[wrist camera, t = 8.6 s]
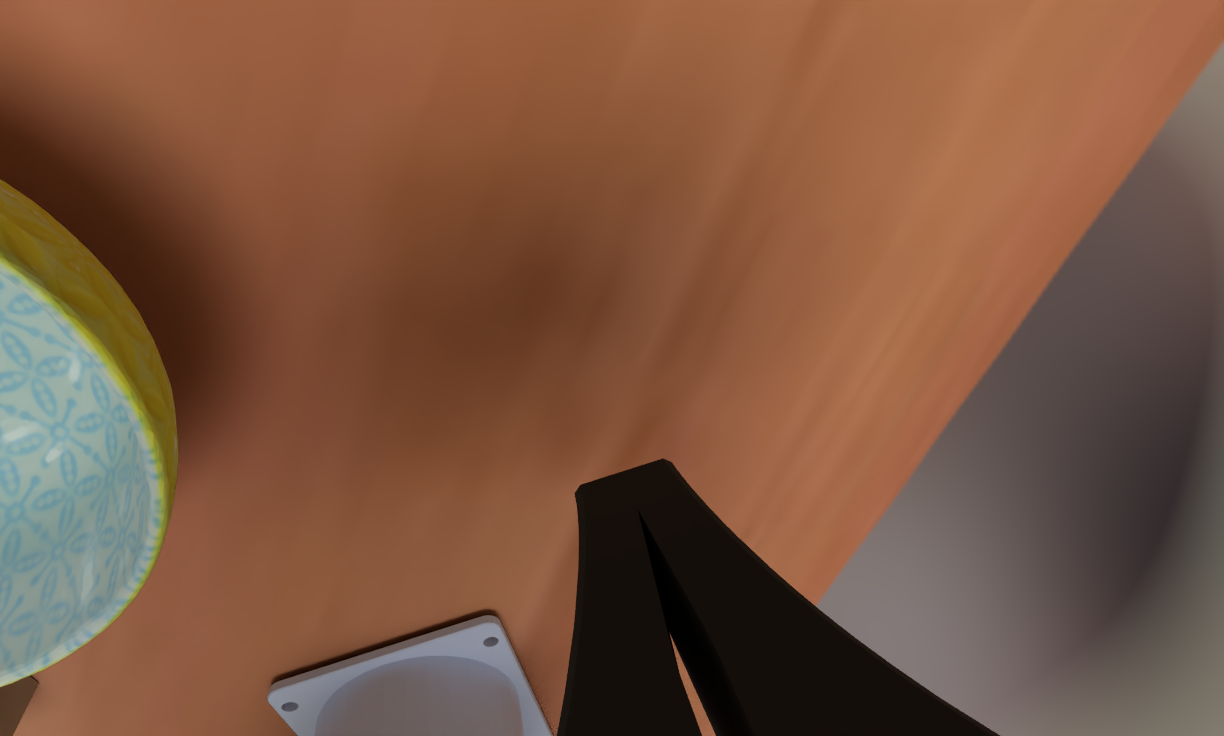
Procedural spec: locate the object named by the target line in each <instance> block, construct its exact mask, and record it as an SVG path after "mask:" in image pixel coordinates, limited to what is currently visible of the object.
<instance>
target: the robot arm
mask: <svg viewBox="0 0 1224 736" xmlns="http://www.w3.org/2000/svg"><path fill="white" fill-rule="evenodd" d="M575 498H576V503H577V511H578V524H579V568H578V583H577V596H576V610H575V621H574V631H573V638H572V645H571V652H570V659H569V667H568V674H567V681H566V688H565V694H564V700H563V706H562V711H561V717H560V722H559V727H558V732H557V736H702V734H701V732H700V729H699V726H698V723H697V721H696V718H695V715H694V712H693V710H692V707H691V704H690V701H689V699H688V696H687V693H686V690H685V688H684V685H683V682H682V679H681V677H680V673H679V669H678V665H677V661H676V657H675V653H674V649H673V645H672V641H671V637H672V639H673V641H674V643H675V646H676V648H677V650H678V652H679V654H680V657H681V659H682V661H683V663H684V666H685V668H686V670H687V672H688V674H689V677H690V679H691V681H692V683H693V686H694V688H695V690H696V692H697V694H698V697H699V699H700V701H701V703H702V705H703V708H704V710H705V712H706V714H707V716H708V719H709V721H710V723H711V725H712V727H713V730H714V732H715V734H716V736H1000V735H998V734H997V733H995V732H993V731H992V730H990V729H989V728H987V727H985V726H984V725H982V724H980V723H979V722H977V721H976V720H974V719H973V718H971V717H969V716H968V715H966V714H965V713H963V712H961V711H960V710H958V709H957V708H955V707H953V706H952V705H950V704H949V703H947V702H946V701H944V700H942V699H941V698H939V697H938V696H936V695H935V694H933V693H932V692H930V691H929V690H928V689H926V688H925V687H923V686H921V685H920V684H919V683H917V682H916V681H914V680H913V679H912V678H910V677H909V676H907V675H906V674H904V673H903V672H902V671H900V670H899V669H897V668H896V667H894V666H893V665H891V664H890V663H889V662H887V661H886V660H885V659H883V658H882V657H881V656H879V655H877V654H876V653H875V652H874V651H872V650H871V649H870V648H868V647H867V646H866V645H864V644H863V643H861V642H860V641H859V640H857V639H856V638H855V637H853V636H852V635H851V634H850V633H848V632H847V631H846V630H844V629H843V628H842V627H840V626H839V625H838V624H837V623H835V622H834V621H833V620H832V619H830V618H829V617H828V616H827V615H825V614H824V613H823V612H822V611H820V610H819V609H818V608H817V607H816V606H814V605H813V604H812V603H811V602H810V601H808V600H807V599H806V598H805V597H804V596H803V595H801V594H800V593H799V592H798V591H797V590H795V589H794V588H793V587H792V586H791V585H789V584H788V583H787V582H786V581H785V580H784V579H783V578H782V577H780V576H779V575H778V574H777V573H776V572H775V571H774V570H773V569H771V568H770V567H769V566H768V565H767V564H766V563H765V562H764V561H763V560H762V559H761V558H760V557H759V556H757V555H756V554H755V553H754V552H753V551H752V550H751V549H750V548H749V547H748V546H747V545H746V544H745V543H744V542H743V541H742V540H741V539H739V538H738V537H737V536H736V535H735V534H734V533H733V532H732V531H731V530H730V529H729V528H728V527H727V526H726V525H725V524H724V523H723V522H722V521H721V520H720V519H719V517H718V516H717V515H716V514H715V513H714V512H713V511H712V510H711V509H710V508H709V507H708V506H707V505H706V504H705V503H704V501H703V500H702V499H701V498H700V497H699V496H698V495H697V494H696V492H695V491H694V490H693V489H692V488H691V487H690V485H689V484H688V483H687V482H686V481H685V479H684V478H683V477H682V476H681V474H680V473H679V472H678V470H677V469H676V468H675V466H674V465H673V463H672V462H670V461H667V460H665V459H660V460H657V461H654V462H651V463H648V464H645V465H641V466H638V467H635V468H632V469H629V470H626V471H623V472H619V473H616V474H613V475H610V476H607V477H604V478H601V479H598V480H594V481H591V482H588V483H585V484H582V485H580V486H579V488H578V489H577V491H576V492H575ZM669 632H670V633H669ZM670 634H671V637H670ZM267 700H268V702H269V704H270V705H271V706H272V707H273V708H274V709H275V710H276V712H277V713H278V714H279V715H280V716H281V717H282V718H283V720H284V721H285V722H286V723H287V724H288V725H289V726H290V728H291V729H292V730H293V731H294V732H295V733H296V734H297V736H553V734H552V732H551V730H550V728H549V726H548V724H547V721H546V719H545V717H544V715H543V713H542V711H541V708H540V706H539V704H538V702H537V700H536V698H535V695H534V693H533V691H532V689H531V687H530V685H529V682H528V680H527V678H526V676H525V674H524V672H523V669H522V667H521V665H520V663H519V661H518V659H517V656H516V654H515V652H514V650H513V648H512V646H511V644H510V641H509V639H508V637H507V635H506V633H505V631H504V628H503V626H502V624H501V622H500V620H499V619H498V618H497V617H495V616H492V615H485V616H481V617H478V618H474V619H471V620H468V621H465V622H462V623H459V624H456V625H453V626H449V627H446V628H443V629H440V630H437V631H434V632H431V633H428V634H424V635H421V636H418V637H415V638H412V639H409V640H406V641H403V642H399V643H396V644H393V645H390V646H387V647H384V648H381V649H378V650H374V651H371V652H368V653H365V654H362V655H359V656H356V657H353V658H349V659H346V660H343V661H340V662H337V663H334V664H331V665H328V666H324V667H321V668H318V669H315V670H312V671H309V672H306V673H303V674H299V675H296V676H293V677H290V678H287V679H284V680H281V681H278V682H276V683H274V684H272V685H271V686H270V688H269V692H268V697H267Z"/></svg>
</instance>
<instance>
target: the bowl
mask: <svg viewBox="0 0 1224 736" xmlns="http://www.w3.org/2000/svg"><path fill="white" fill-rule="evenodd" d="M177 471H178V436H177V427H176V412H175V406H174V400H173V394H172V388H171V385H170V381H169V378H168V375H167V372H166V370H165V368H164V365H163V362H162V360H161V357H160V354H159V351H158V349H157V347H156V344H155V342H154V340H153V338H152V336H151V334H150V332H149V331H148V329H147V327H146V325H145V323H144V321H143V319H142V317H141V315H140V314H139V312H138V310H137V309H136V307H135V306H134V304H133V303H132V302H131V300H130V299H129V297H128V296H127V294H126V293H125V292H124V290H123V289H122V287H121V286H120V285H119V283H118V282H117V281H116V280H115V279H114V277H113V276H112V275H111V274H110V272H109V271H108V270H107V269H106V268H105V267H104V266H103V265H102V264H101V263H100V262H99V260H98V259H97V258H96V257H95V256H94V255H93V254H92V253H91V252H90V251H89V250H88V249H87V248H86V247H85V246H84V245H83V244H82V243H81V242H80V241H79V240H78V239H77V238H76V237H75V236H74V235H73V234H71V233H70V232H69V231H68V230H67V229H66V228H65V227H64V226H63V225H61V224H60V223H59V222H57V221H56V220H55V219H54V218H53V217H52V216H51V215H50V214H49V213H47V212H46V211H45V210H44V209H42V208H41V207H40V206H39V205H37V204H36V203H35V202H33V201H32V200H31V199H29V198H28V197H26V196H25V195H23V194H22V193H20V192H19V191H17V190H16V189H14V188H13V187H11V186H10V185H9V184H7V183H6V182H4V181H2V180H1V179H0V687H2V686H5V685H8V684H11V683H13V682H16V681H18V680H20V679H22V678H25V677H28V676H30V675H32V674H35V673H37V672H39V671H42V670H44V669H46V668H47V667H49V666H51V665H53V664H55V663H57V662H58V661H60V660H62V659H63V658H65V657H67V656H68V655H70V654H71V653H73V652H75V651H76V650H78V649H79V648H81V647H82V646H83V645H85V644H86V643H88V642H89V641H90V640H91V639H93V638H94V637H95V636H97V635H98V634H99V633H101V632H102V631H103V630H105V629H106V628H107V627H108V626H109V625H110V624H111V623H112V622H113V621H114V620H115V619H116V618H117V617H118V616H119V615H121V613H122V612H123V611H124V610H125V608H126V607H127V606H128V605H129V604H130V603H131V602H132V600H133V599H134V598H135V596H136V595H137V593H138V592H139V591H140V589H141V588H142V587H143V585H144V583H145V582H146V580H147V578H148V576H149V575H150V573H151V571H152V569H153V567H154V565H155V563H156V561H157V558H158V556H159V553H160V550H161V547H162V544H163V542H164V538H165V535H166V531H167V528H168V525H169V521H170V518H171V512H172V506H173V502H174V495H175V488H176V481H177Z"/></svg>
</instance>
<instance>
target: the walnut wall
mask: <svg viewBox="0 0 1224 736" xmlns="http://www.w3.org/2000/svg"><path fill="white" fill-rule="evenodd" d="M38 684H39V683H38V682H37V681H35V680H34V679H33V678H32V677H31V676H28V677H25V678H22V679H20V680H18V681H16V682H13V683H11V684H8V685H5V686H2V687H0V736H13V734H14V732H15V730H16V728H17V726H18V724H19V722H20V720H21V718H22V716H23V714H24V712H25V710H26V708H27V706H28V704H29V702H30V700H31V698H32V696H33V694H34V692H35V690H36V688H37V686H38Z"/></svg>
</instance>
